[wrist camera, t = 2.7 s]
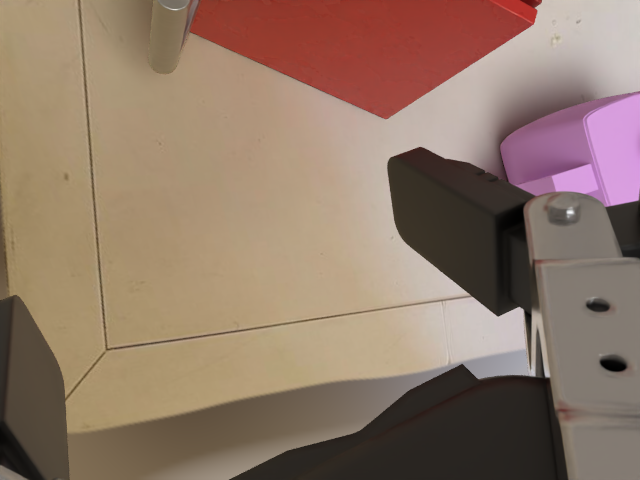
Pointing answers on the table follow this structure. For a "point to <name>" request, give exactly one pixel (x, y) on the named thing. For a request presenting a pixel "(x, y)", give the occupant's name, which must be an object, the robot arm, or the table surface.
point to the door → (346, 40)
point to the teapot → (580, 151)
